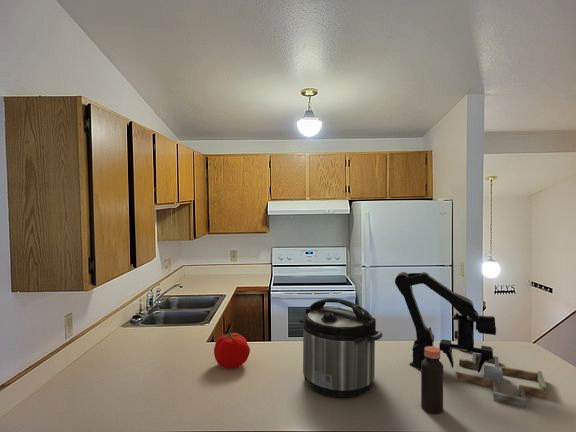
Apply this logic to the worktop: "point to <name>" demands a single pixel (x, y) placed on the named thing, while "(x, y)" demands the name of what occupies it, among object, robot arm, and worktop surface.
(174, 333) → the worktop surface
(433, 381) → the vinegar
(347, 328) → the pressure cooker
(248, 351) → the tomato
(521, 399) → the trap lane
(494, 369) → the block
